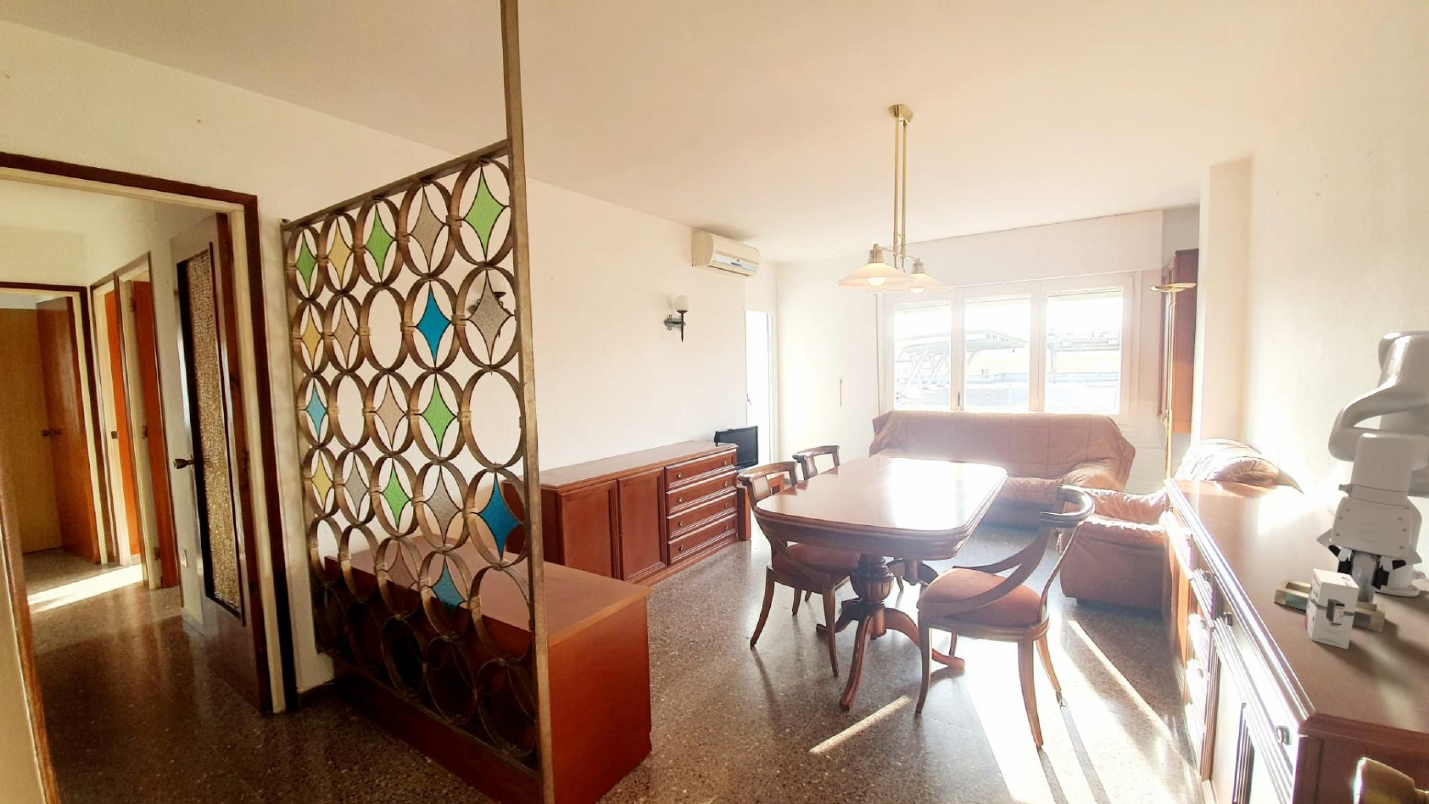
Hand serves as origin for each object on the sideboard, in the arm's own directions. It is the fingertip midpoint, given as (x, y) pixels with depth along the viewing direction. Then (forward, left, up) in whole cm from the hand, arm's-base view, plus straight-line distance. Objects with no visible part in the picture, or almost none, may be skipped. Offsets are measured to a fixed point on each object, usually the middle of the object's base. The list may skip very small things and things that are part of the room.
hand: (1360, 582), depth 114 cm
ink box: (+15, +6, -8) cm, 18 cm away
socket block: (+2, -3, -7) cm, 8 cm away
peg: (0, 0, -3) cm, 3 cm away
